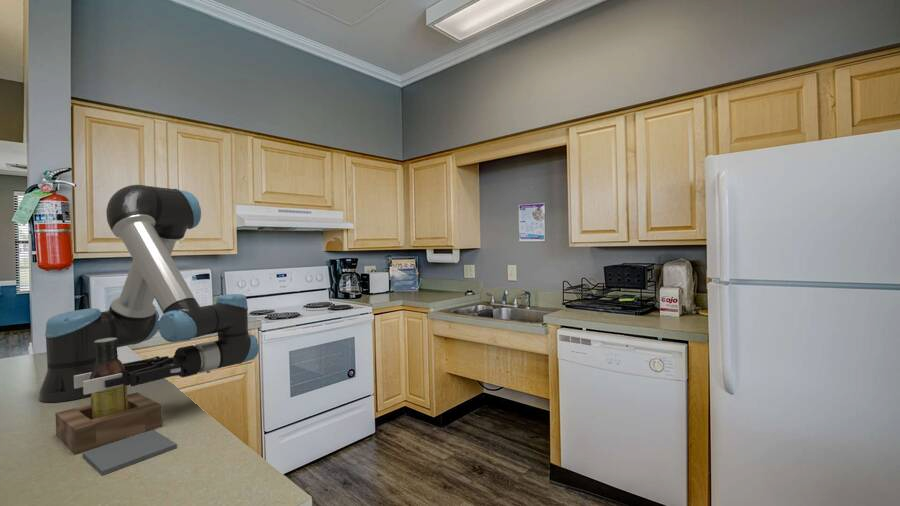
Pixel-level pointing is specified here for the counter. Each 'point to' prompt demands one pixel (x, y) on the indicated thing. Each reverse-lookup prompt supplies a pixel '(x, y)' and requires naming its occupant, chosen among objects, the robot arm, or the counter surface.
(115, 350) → the sauce bottle
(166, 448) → the mat
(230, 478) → the counter surface
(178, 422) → the counter surface
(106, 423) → the rectangular frame
